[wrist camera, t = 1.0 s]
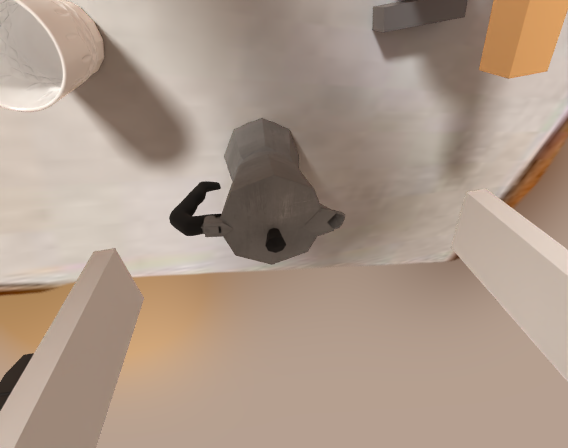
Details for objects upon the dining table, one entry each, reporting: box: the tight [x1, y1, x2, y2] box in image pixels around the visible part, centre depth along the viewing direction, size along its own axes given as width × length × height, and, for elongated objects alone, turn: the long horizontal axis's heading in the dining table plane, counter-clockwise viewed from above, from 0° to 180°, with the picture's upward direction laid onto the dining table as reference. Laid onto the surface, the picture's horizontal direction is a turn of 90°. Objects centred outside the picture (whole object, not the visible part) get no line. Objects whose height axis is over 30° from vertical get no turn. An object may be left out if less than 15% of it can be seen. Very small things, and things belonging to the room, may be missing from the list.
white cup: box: [0, 0, 104, 112], centre depth 25 cm, size 8×8×10 cm
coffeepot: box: [169, 118, 345, 264], centre depth 31 cm, size 15×9×18 cm, turn 88°
